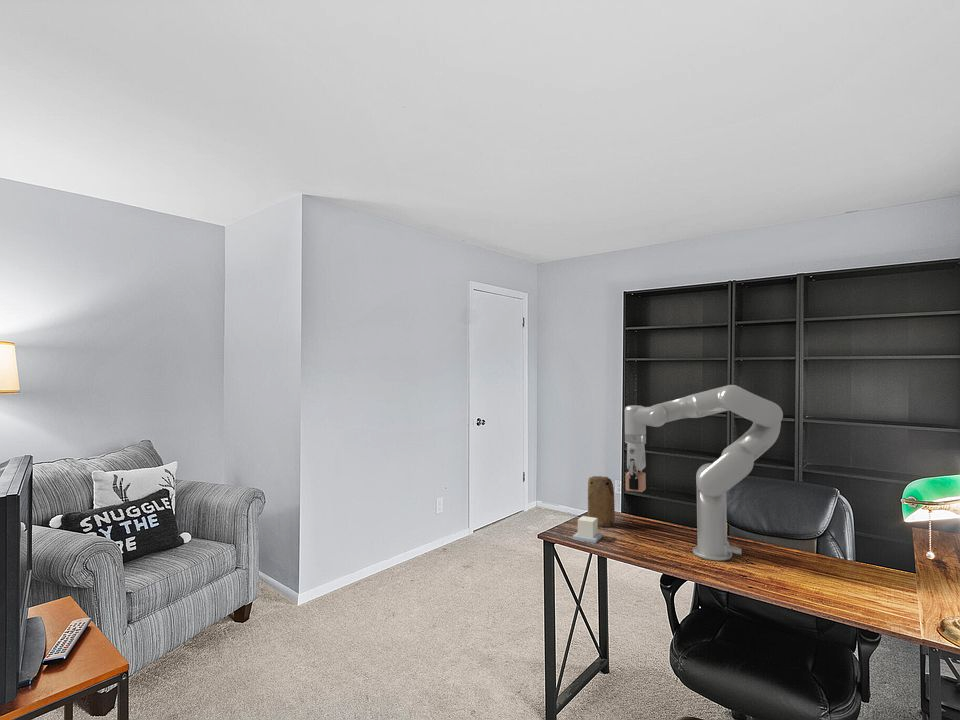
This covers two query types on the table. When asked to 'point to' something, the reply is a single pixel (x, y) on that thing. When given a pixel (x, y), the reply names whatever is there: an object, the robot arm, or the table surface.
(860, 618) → the table surface
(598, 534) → the plate
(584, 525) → the cream brick
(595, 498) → the block
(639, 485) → the terracotta brick
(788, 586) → the table surface
